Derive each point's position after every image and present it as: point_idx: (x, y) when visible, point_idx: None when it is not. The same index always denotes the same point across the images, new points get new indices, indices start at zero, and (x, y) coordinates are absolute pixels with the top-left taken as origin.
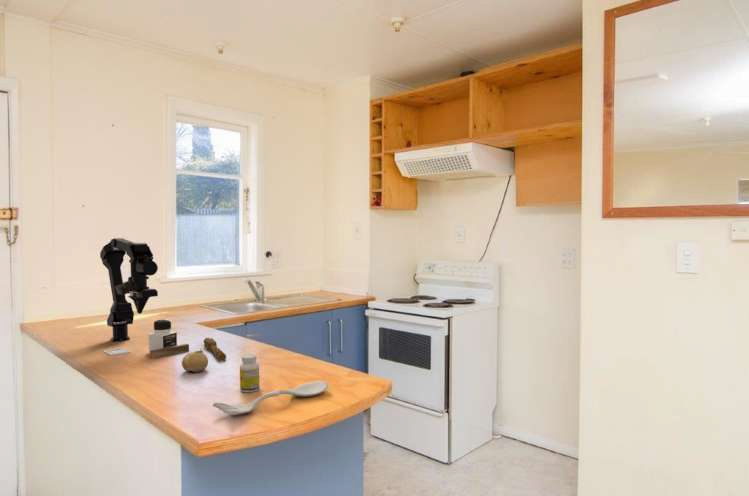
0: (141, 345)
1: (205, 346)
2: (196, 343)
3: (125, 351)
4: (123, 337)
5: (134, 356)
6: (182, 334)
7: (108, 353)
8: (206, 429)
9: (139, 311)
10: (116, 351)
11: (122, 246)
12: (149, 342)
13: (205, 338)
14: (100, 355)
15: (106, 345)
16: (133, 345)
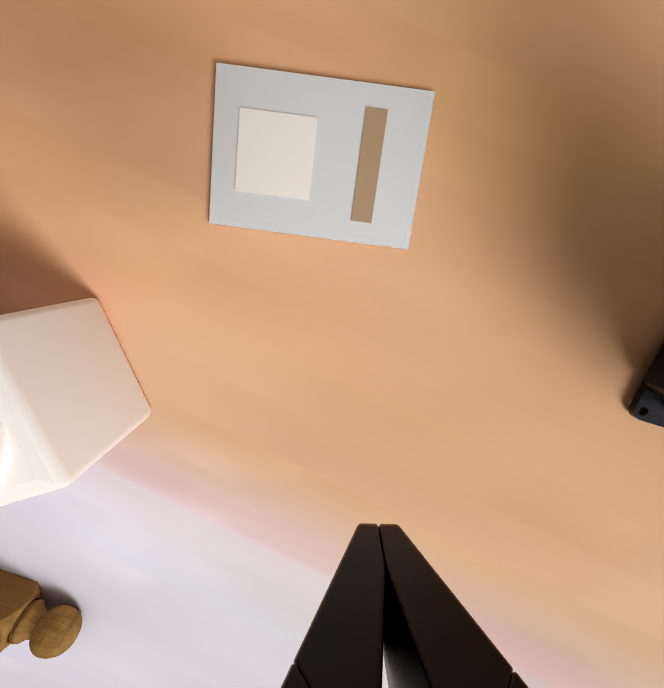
0: (367, 374)
1: (1, 575)
2: (142, 594)
3: (248, 200)
4: (657, 376)
5: (64, 180)
6: None
7: (285, 75)
8: None
9: (347, 560)
10: (297, 149)
11: None
12: (30, 310)
13: (46, 642)
14: (291, 8)
15: (604, 207)
16: (416, 340)
